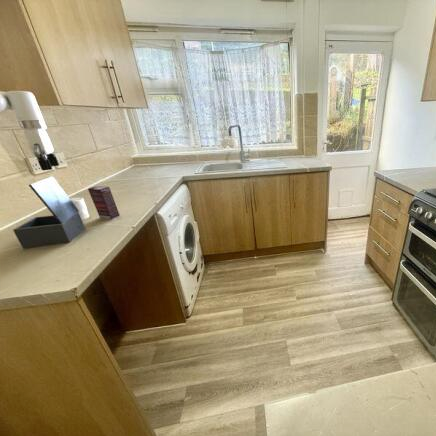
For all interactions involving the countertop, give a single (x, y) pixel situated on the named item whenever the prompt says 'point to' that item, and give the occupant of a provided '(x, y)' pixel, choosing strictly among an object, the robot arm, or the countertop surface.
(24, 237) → the box
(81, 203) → the white cup
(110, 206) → the supplement box
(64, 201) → the lid
